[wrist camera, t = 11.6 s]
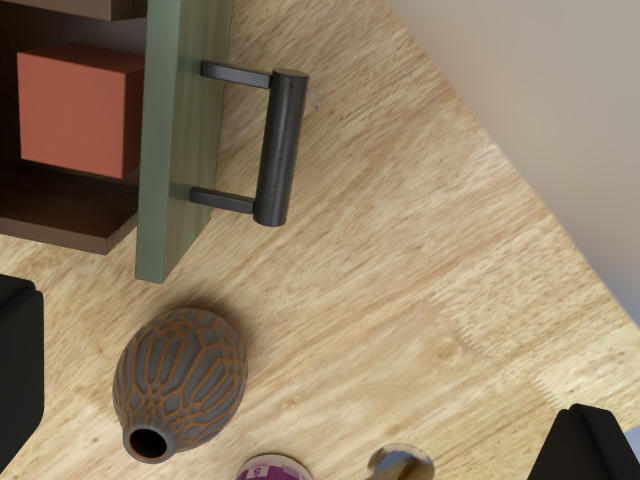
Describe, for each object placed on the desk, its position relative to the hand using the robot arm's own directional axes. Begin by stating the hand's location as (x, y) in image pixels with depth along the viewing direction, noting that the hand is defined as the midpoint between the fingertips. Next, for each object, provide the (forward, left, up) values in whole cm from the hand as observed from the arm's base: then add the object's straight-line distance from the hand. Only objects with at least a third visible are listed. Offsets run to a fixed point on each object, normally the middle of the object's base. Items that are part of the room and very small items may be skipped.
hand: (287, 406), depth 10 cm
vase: (+14, -6, -21) cm, 26 cm away
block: (0, -11, -18) cm, 22 cm away
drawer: (0, -11, -20) cm, 22 cm away
